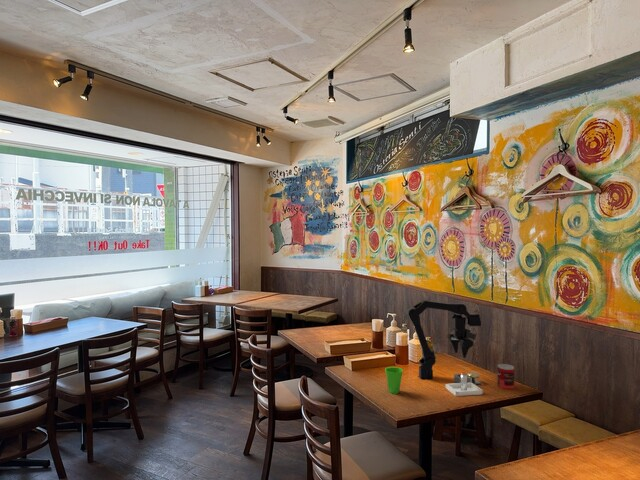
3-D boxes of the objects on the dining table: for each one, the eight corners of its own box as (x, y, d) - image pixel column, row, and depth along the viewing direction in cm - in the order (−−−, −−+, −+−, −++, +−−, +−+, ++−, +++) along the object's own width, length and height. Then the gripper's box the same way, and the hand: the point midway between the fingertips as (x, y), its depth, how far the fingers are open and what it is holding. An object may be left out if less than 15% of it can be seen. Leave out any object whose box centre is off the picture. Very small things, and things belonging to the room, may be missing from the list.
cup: (392, 396, 197) (392, 373, 197) (381, 390, 205) (381, 368, 205) (407, 393, 201) (407, 370, 201) (395, 387, 209) (395, 365, 209)
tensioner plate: (460, 387, 209) (460, 377, 209) (452, 381, 218) (452, 372, 218) (484, 385, 211) (484, 376, 211) (475, 379, 220) (475, 370, 220)
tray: (455, 397, 196) (455, 391, 196) (445, 388, 207) (445, 383, 207) (483, 395, 198) (483, 390, 198) (471, 387, 209) (471, 382, 209)
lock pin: (462, 392, 201) (462, 374, 201) (459, 389, 204) (459, 372, 204) (468, 391, 201) (468, 374, 201) (465, 389, 204) (465, 372, 204)
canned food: (500, 383, 214) (500, 362, 214) (516, 387, 208) (516, 366, 208) (494, 387, 208) (494, 366, 208) (511, 391, 203) (511, 369, 203)
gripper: (483, 329, 212) (483, 359, 213) (465, 322, 231) (465, 350, 231) (463, 330, 211) (463, 360, 211) (446, 323, 229) (447, 350, 229)
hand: (460, 355), depth 221 cm, fingers open, 9 cm apart
